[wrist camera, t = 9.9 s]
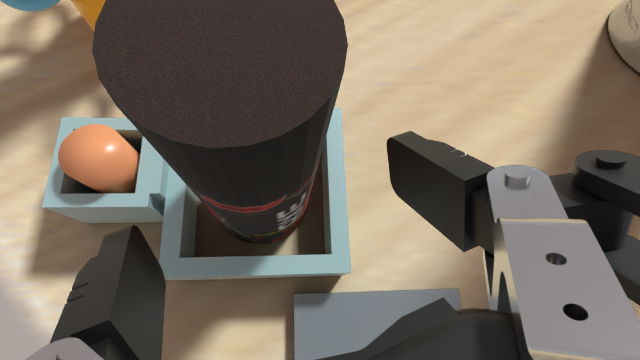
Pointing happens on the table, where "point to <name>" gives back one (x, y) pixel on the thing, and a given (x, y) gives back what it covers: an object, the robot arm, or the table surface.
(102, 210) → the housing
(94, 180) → the brown egg
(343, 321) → the coaster
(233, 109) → the deodorant
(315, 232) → the table surface
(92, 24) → the multicoloured piece
